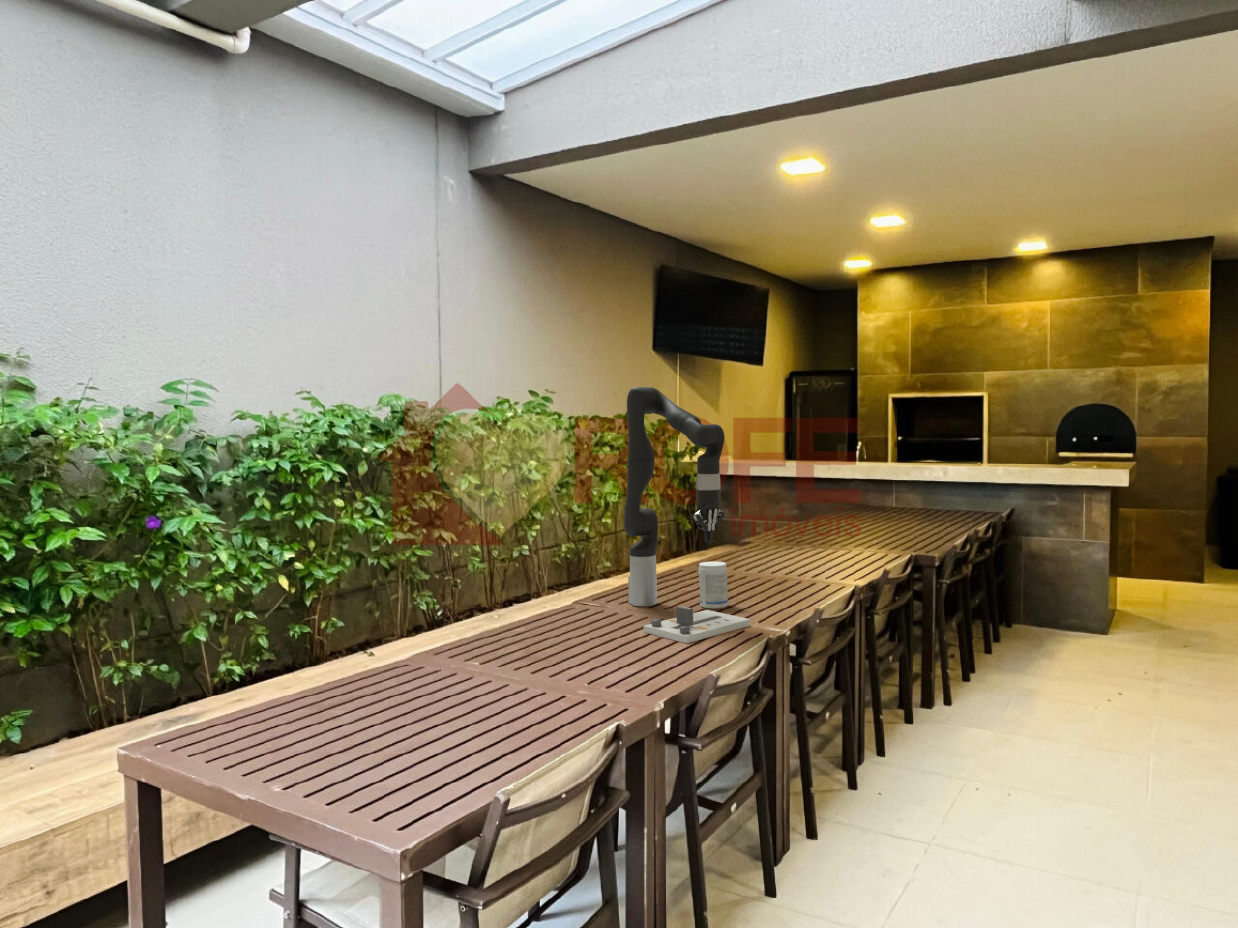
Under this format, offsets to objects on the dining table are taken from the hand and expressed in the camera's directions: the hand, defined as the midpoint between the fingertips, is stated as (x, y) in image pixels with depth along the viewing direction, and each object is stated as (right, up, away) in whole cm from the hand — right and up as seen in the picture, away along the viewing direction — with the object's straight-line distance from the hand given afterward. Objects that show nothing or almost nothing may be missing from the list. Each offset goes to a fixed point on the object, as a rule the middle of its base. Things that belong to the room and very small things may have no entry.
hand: (708, 542), depth 261 cm
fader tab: (-9, -23, -13) cm, 28 cm away
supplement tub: (+4, -24, +20) cm, 32 cm away
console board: (-4, -26, -9) cm, 28 cm away
